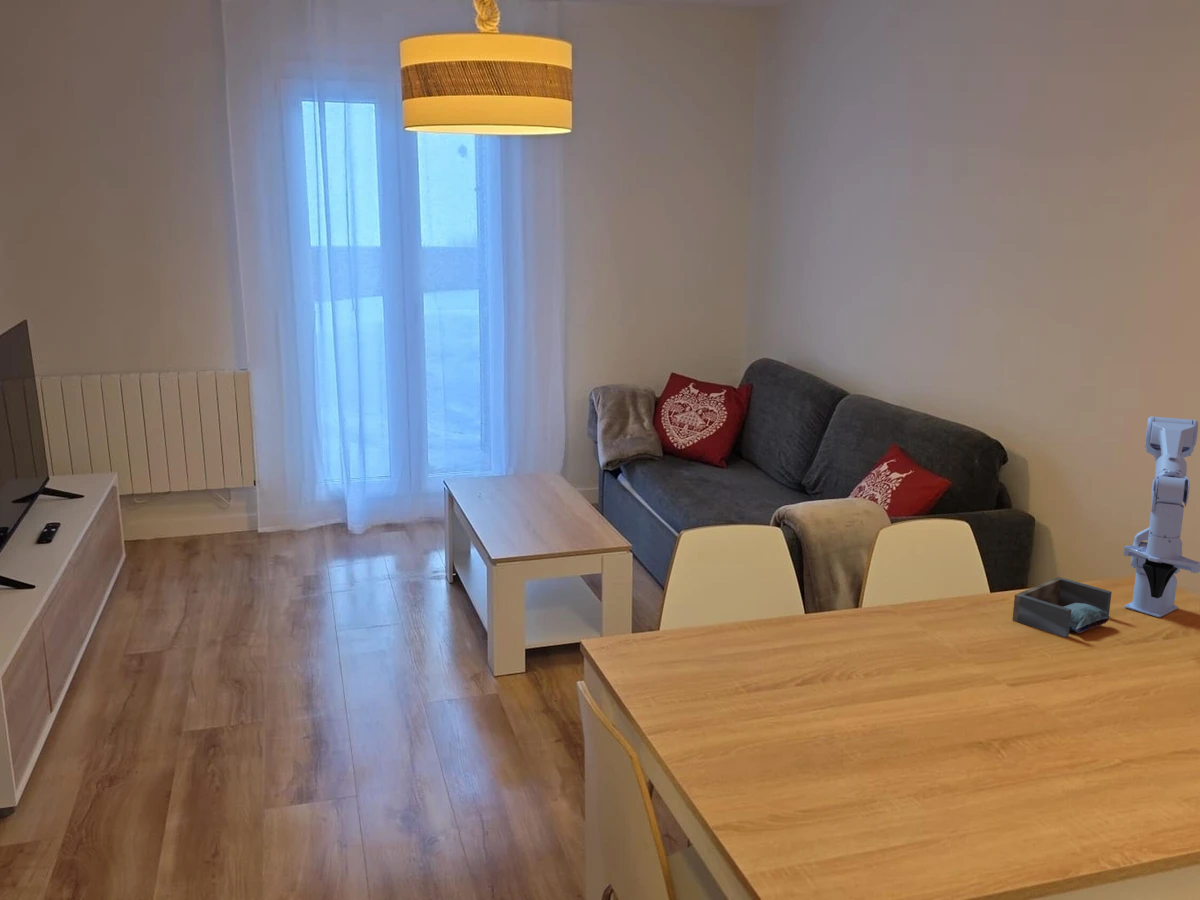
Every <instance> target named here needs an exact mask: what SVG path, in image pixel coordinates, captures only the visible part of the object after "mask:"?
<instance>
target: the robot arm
mask: <svg viewBox="0 0 1200 900" xmlns="http://www.w3.org/2000/svg"><path fill="white" fill-rule="evenodd" d="M1146 422H1147V424H1146V433H1145V444H1144V445H1145V446H1144V447H1145V451H1146V453H1148V454H1150V455H1152V456H1153V457H1154V461H1155V468H1154V469H1155V471H1154V478H1153V479H1152V484H1151V493H1150V501H1151V506H1150V513H1149V514H1150V516H1149V525H1148V527H1147V528H1145V529H1143V530H1141V531H1139V532H1137V533H1136V534H1135V535H1134V537H1133V543H1132V545H1130V544H1128V545H1125V546H1124V549H1123V556H1125V557H1131V559H1130V566H1131V567H1132V569H1135V577H1134V578H1135V579H1134V585H1133V586H1134V587H1133V593H1132V594H1133V595H1132V601H1130V602H1128V603H1126V604H1125V605H1124V608H1126V609H1127V610H1133V611H1135V612H1138V613H1143V614H1146V615H1150V616H1153V617H1157V618H1162V617H1164V616H1165V615H1167V614H1169V613H1172V612H1173V611H1176V610H1177V609H1179V605H1175V599H1176V593H1177V585H1178V580H1177V579H1178V578H1177V576H1176V574H1178V573H1180V571H1181V569H1182V570H1185V571H1188V572H1190V573H1192V574H1198V573H1200V561H1197V560H1193V559H1190V558H1188V557H1185V556H1183V542H1182V539H1181V533H1182V526H1183V519H1184V511H1185V507H1187V505H1188V503H1189V502H1188V501H1189V495H1190V488H1191V487H1190V484H1191V483H1190V478H1189V476H1188V475H1187V474H1188V473H1187V469H1188V468H1187V466H1188V464H1187V460H1186V459H1185V458H1188V457H1190V456H1192V453H1193V452H1194V450H1195V446H1196V444H1197V441H1198V440H1197V439H1198V434H1199V433H1198V431H1199V421H1197V419H1195V418H1193V419H1188V418H1175V417H1165V416H1164V417H1162V416H1161V417H1160V416H1154V415H1150V417H1148V418H1147V421H1146ZM1146 541H1147V542H1146Z"/></svg>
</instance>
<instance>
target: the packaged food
mask: <svg viewBox="0 0 1200 900" xmlns="http://www.w3.org/2000/svg"><path fill="white" fill-rule="evenodd" d="M1063 607H1065V608H1068V609H1072V610H1071V619H1070V628H1069V631H1070V630H1071V631H1072V632H1075V633H1078V634H1081V633H1083V632H1085V631H1087V630H1091V629H1094V628H1096V627H1100V626H1102V625H1105V624H1106V623H1107V622H1108V621H1110V617H1111V616H1110V614H1109V615H1108V614H1107V613H1105V612H1104V611H1102V610H1100V609H1098V608H1096V607H1095V606H1091V605H1088V604H1084V603H1073V604H1070V605H1067V606H1063Z"/></svg>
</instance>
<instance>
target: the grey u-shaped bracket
mask: <svg viewBox="0 0 1200 900" xmlns="http://www.w3.org/2000/svg"><path fill="white" fill-rule="evenodd" d="M1112 593H1113V592H1112V591H1110V590H1108V589H1103V588H1099V587H1096V586H1093V585H1089V584H1086V583H1082V582H1078V581H1076V580H1071V579H1067V578H1064V577H1060V576H1057V577H1055V578H1053V579H1051V580H1047V581H1046V582H1043V583H1041V584H1038V585H1036V586H1033V587H1030V588H1028V589H1026V590H1024V591H1021V592H1018V593H1015V594H1014V601H1013V609H1012V619H1011V620H1012V621H1014V622H1017V623H1019V624H1023V625H1026V626H1029V627H1032V628H1035V629H1036V630H1037V629H1039V630H1041V631H1044V632H1047V633H1051V634H1052V635H1056V636H1060V637H1063V638H1067V637H1069V635H1070V629H1069V628H1070V619H1071V610H1072V609H1068V608H1065V607H1064V606H1067V605H1070V604H1073V603H1084V604H1088V605H1091V606H1095V607H1096V608H1098V609H1100V610H1102V611H1104V612H1105V613H1107V614H1108V615H1109V616H1110V609H1111V601H1112Z"/></svg>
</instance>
